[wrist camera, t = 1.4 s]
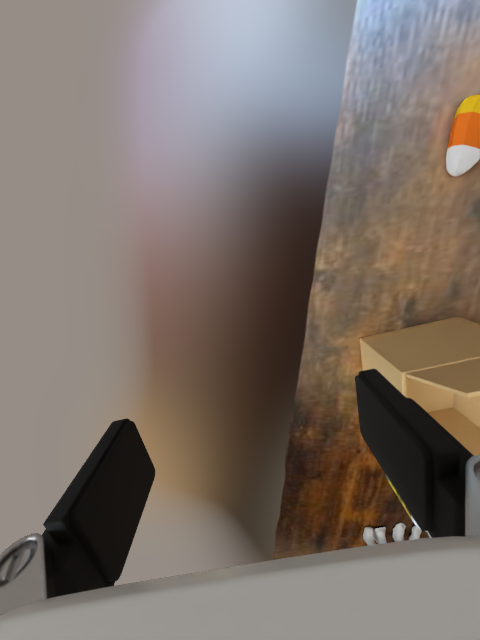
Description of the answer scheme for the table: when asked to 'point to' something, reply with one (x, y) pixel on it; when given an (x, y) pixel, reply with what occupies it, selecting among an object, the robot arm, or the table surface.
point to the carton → (423, 353)
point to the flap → (453, 377)
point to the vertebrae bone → (397, 535)
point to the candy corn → (464, 137)
